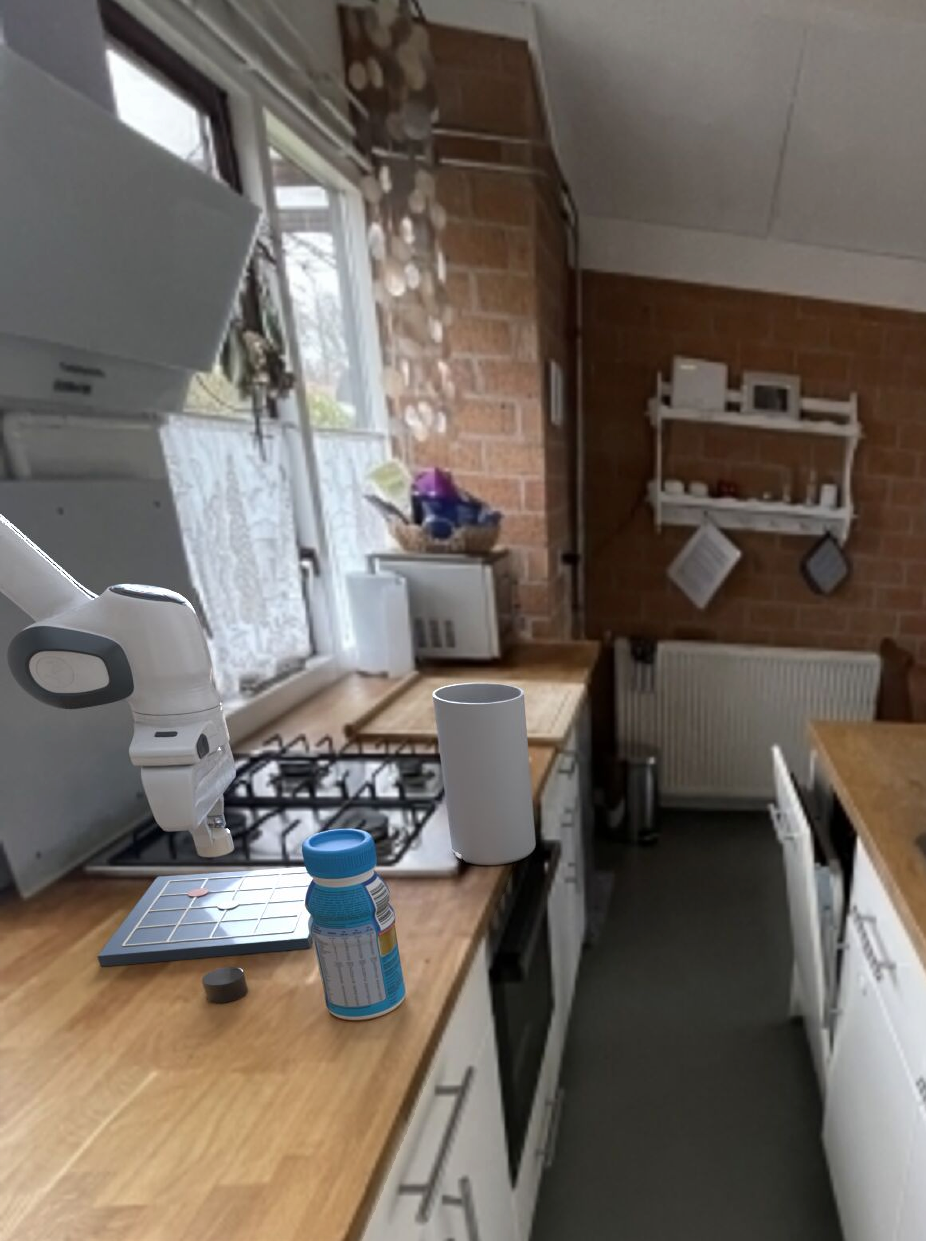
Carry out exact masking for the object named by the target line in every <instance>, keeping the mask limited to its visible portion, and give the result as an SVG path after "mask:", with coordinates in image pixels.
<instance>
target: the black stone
mask: <svg viewBox="0 0 926 1241" xmlns="http://www.w3.org/2000/svg"><path fill="white" fill-rule="evenodd" d="M201 984H202V986H203V987H202V988H203V989H204V993H205V997H206V999H207V1001H208V1002H210V1003H214V1004H227V1003H231V1002H234V1001H237V1000H239V999H241V998H242V997H244V996H246V995H247V993H248V992H249V991H248V990H249V988H248V984H247V980H246V976H245V973H244V970H243V969H242V968H241V967H237V966H223V967H219V968H216V969H213V970H211V971H209V972H207V973H206V974H204V975H203V977H202V978H201Z"/></svg>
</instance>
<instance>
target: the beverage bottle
mask: <svg viewBox="0 0 926 1241" xmlns="http://www.w3.org/2000/svg"><path fill="white" fill-rule="evenodd" d="M301 853H302V859H303V863H304V867H305V868H306V871H307V872H308V874H309V876H310V877H312V878H313V879H312V881H311V882H310V884H309V887H308V889H307V892H306V897H305V907H306V910H307V911H308V912H309V913H310V914H311V915H310V917H309V920H308V928H309V933H310V935H311V937H312V939H313V941H312V944H313V947H314V948H313V949H314V952H315V957H316V962H317V966H318V970H319V975H320V980H321V984H322V990H323V993H324V1000H325V1005H326V1008H327V1011H328V1012H329V1013H330V1014H331V1015H333V1016H334V1017H336V1018H339V1019H342V1020H346V1021H365V1020H370V1019H376V1018H378V1017H381V1016H383V1015H386V1014H388V1013H390V1012H392V1011H393V1010H396V1008H398V1007H399V1006H400V1005H401V1004H402V1002H404V999H405V997H406V994H407V993H406V991H407V990H406V986H405V982H404V975H403V971H402V970H403V969H402V968H403V967H402V963H401V955H400V949H399V944H398V943H399V942H398V936H397V931H396V930H397V929H396V915H395V910H394V908H393V907H392V905H391V904H390V902H389V901H390V899H391V891H390V889H389V887H388V885H387V883H386V882H385V880H384V879H383V877H382V876H381V875H380V874H379V873H378V872H376V870H375V869H376V867H377V863H378V858H377V850H376V846H375V840H374V838H373V836H372V835H371V834H370V833H369V832H367V831H365V830H362V829H356V828H335V829H329V830H325V831H321V832H317V833H314V834H312V835H310V836H308V837H307V838H306V839H304V840H303V841H302V844H301Z"/></svg>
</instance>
